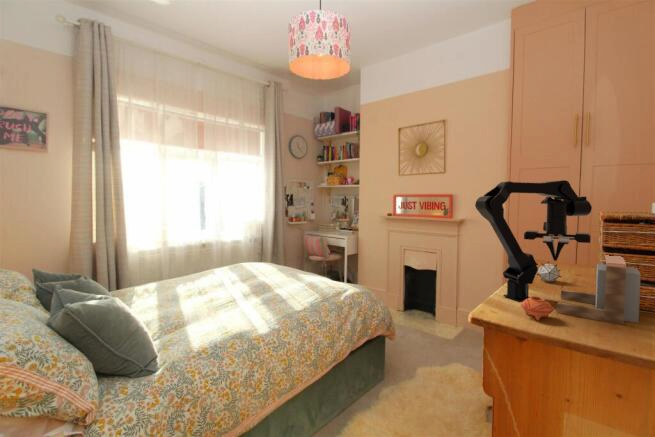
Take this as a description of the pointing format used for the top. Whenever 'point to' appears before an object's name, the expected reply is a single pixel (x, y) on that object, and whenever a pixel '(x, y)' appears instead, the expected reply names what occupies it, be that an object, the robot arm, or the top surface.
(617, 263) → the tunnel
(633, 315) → the tall block
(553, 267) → the game die
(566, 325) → the top surface
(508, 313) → the top surface
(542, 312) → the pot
